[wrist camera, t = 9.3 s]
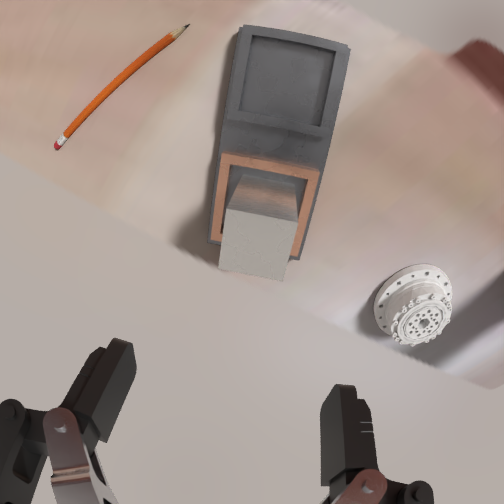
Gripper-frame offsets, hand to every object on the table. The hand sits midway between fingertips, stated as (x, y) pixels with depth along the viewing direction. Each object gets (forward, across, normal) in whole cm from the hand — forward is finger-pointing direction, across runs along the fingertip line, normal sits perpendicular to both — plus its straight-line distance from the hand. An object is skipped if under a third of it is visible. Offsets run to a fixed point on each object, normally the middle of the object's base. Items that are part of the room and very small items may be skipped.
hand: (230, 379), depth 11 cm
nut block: (+18, 0, 0) cm, 18 cm away
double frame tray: (+19, 0, -5) cm, 20 cm away
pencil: (+20, +16, -9) cm, 27 cm away
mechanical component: (+20, -19, +8) cm, 29 cm away
